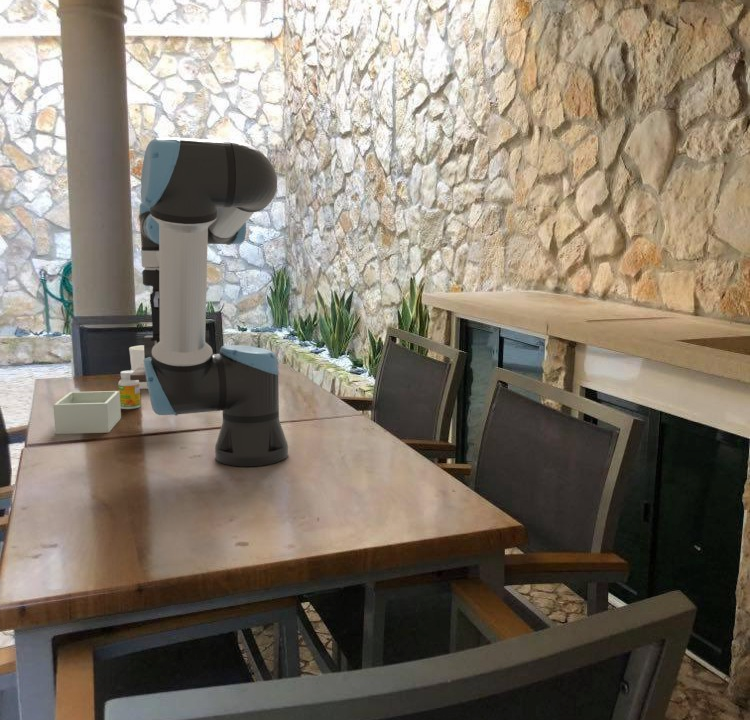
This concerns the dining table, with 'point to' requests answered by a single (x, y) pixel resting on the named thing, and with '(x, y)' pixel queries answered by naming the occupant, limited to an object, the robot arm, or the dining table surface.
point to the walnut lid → (148, 345)
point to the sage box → (87, 412)
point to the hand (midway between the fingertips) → (162, 365)
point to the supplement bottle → (129, 391)
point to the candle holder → (137, 361)
